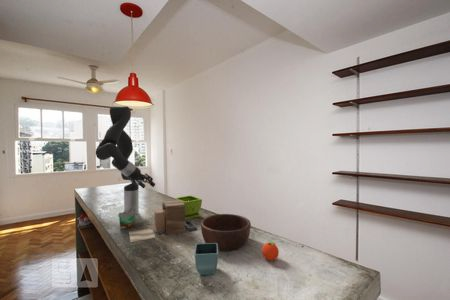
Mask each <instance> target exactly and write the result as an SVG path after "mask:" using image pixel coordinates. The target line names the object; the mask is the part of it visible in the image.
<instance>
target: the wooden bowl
mask: <svg viewBox="0 0 450 300" xmlns="http://www.w3.org/2000/svg"><path fill="white" fill-rule="evenodd" d="M251 226H252V225H251V220H249V219H248V218H246V217H245V216H243V215H239V214H234V213H233V214H231V213H218V214H212V215H209V216H206V217H205V218H203V219H202V220H201V222H200V230H201V236H202V239H203V241H204V242H205V243H217V244H218V251H220V252H223V251H224V252H231V251H236V250H239V249H241V248H243V247H244V246H245V245H246V243H247V242H248V240H249V237H250V233H251V228H252V227H251Z"/></svg>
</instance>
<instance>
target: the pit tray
mask: <svg viewBox="0 0 450 300" xmlns="http://www.w3.org/2000/svg"><path fill="white" fill-rule="evenodd" d="M197 227H198V226H197V225H196V224H195V223H194V222H193V221H192V220H191V219H188V220H185V230H186V231H188V232H190V231H196V230H197Z"/></svg>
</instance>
